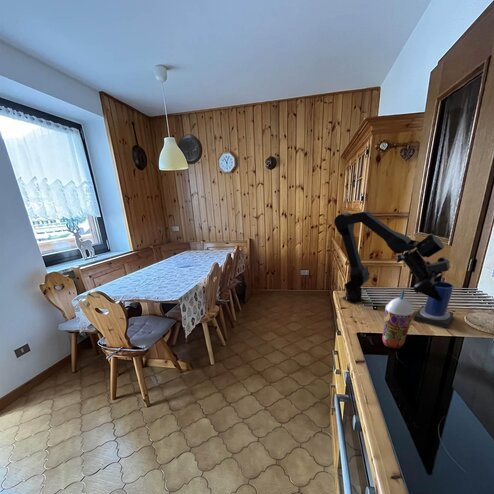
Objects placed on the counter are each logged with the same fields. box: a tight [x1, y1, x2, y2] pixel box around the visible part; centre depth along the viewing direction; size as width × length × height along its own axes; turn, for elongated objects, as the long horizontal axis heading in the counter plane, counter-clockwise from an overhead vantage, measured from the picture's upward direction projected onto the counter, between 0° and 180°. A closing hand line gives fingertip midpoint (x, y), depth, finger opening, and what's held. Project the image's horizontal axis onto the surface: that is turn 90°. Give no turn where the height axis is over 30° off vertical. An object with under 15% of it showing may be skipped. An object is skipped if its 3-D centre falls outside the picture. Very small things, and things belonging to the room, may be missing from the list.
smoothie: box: [381, 289, 415, 349], centre depth 93 cm, size 8×8×20 cm
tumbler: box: [424, 281, 455, 316], centre depth 108 cm, size 7×7×12 cm
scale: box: [413, 305, 455, 329], centre depth 111 cm, size 11×11×3 cm
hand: (443, 297), depth 106 cm, fingers closed on tumbler, 7 cm apart
